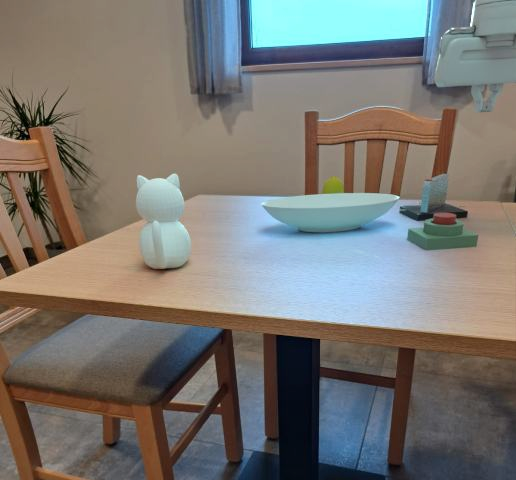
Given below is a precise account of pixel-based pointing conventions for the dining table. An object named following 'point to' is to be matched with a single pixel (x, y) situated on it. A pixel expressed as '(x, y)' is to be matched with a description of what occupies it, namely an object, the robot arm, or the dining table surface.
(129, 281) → the dining table surface
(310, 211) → the bowl
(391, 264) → the dining table surface
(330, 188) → the lemon
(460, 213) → the plate
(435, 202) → the blue card stand
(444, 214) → the button
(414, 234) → the green base
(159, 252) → the cat figurine
